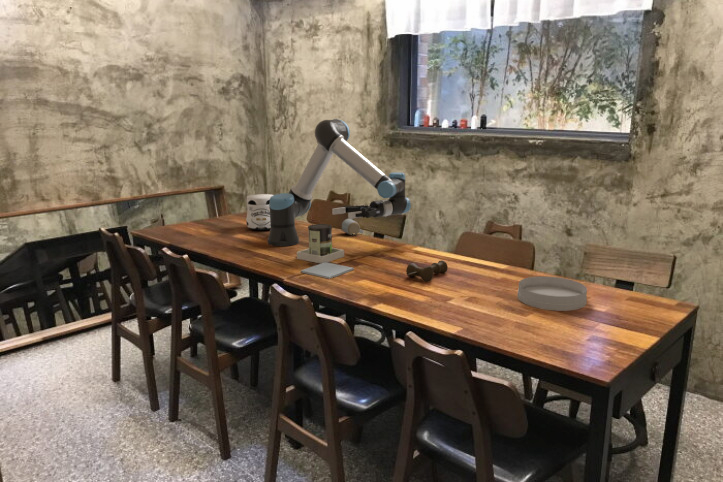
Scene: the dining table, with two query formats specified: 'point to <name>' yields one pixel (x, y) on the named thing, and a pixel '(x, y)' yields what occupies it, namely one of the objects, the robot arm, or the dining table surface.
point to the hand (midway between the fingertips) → (340, 213)
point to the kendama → (426, 270)
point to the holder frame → (320, 259)
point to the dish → (552, 293)
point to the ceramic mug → (351, 227)
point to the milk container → (258, 212)
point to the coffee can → (320, 239)
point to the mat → (327, 270)
